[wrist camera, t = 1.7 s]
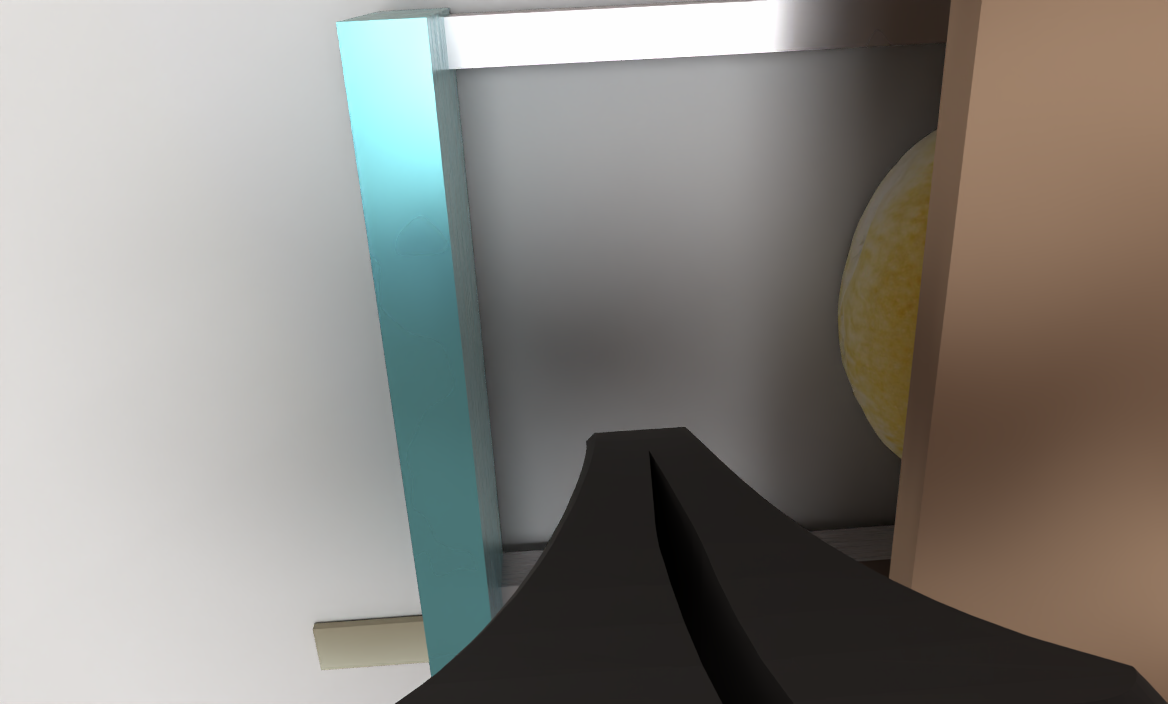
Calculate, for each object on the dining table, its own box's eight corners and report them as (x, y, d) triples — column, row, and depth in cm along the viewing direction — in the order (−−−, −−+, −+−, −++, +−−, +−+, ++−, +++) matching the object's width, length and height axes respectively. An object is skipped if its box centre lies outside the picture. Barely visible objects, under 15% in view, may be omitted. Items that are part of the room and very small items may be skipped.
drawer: (1264, 531, 21) (1408, 641, 17) (453, 589, 20) (436, 715, 17) (1438, -43, 16) (1683, -47, 13) (379, 11, 15) (336, 22, 12)
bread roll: (1019, -15, 16) (1162, -13, 13) (1309, 256, 19) (1500, 325, 15) (733, 331, 19) (783, 418, 15) (1023, 533, 21) (1127, 651, 17)
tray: (1637, 566, 22) (2029, 776, 16) (323, 664, 21) (244, 925, 15) (2026, -202, 16) (2898, -303, 10) (162, -116, 15) (-76, -173, 9)
